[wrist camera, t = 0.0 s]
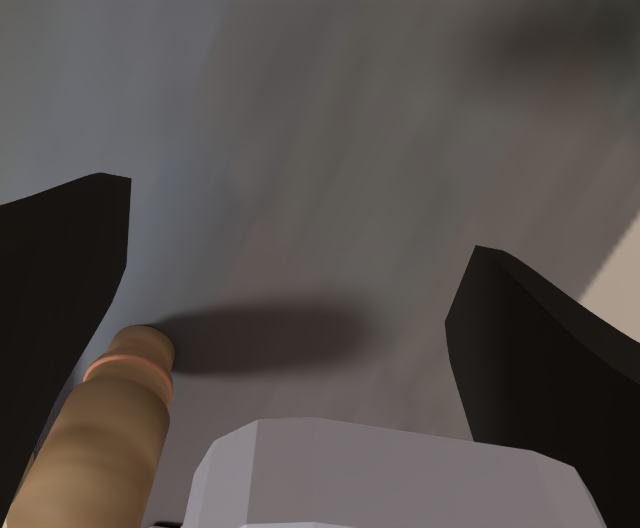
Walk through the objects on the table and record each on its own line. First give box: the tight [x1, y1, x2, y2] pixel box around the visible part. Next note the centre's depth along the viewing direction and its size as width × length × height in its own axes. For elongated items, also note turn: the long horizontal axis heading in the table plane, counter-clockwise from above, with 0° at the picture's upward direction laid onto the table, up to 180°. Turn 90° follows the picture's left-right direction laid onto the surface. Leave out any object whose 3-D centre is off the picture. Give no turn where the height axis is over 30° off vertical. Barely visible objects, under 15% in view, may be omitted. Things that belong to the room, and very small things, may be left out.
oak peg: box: [6, 325, 175, 528], centre depth 22 cm, size 4×4×9 cm
